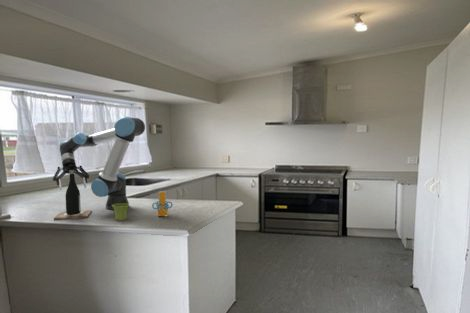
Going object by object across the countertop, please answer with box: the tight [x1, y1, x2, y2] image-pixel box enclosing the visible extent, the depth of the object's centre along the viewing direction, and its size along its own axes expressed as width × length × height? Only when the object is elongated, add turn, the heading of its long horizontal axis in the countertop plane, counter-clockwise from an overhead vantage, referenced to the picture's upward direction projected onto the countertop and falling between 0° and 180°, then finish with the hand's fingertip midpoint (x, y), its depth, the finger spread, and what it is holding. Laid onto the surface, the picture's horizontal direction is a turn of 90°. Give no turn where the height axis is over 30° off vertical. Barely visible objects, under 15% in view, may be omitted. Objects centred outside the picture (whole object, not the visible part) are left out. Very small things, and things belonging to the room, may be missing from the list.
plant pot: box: [112, 203, 130, 221], centre depth 191 cm, size 9×9×9 cm
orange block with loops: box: [151, 190, 173, 217], centre depth 199 cm, size 12×10×15 cm
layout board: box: [53, 209, 93, 221], centre depth 200 cm, size 18×16×1 cm
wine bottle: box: [65, 165, 82, 215], centre depth 199 cm, size 8×8×30 cm
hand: (73, 187), depth 197 cm, fingers open, 13 cm apart
